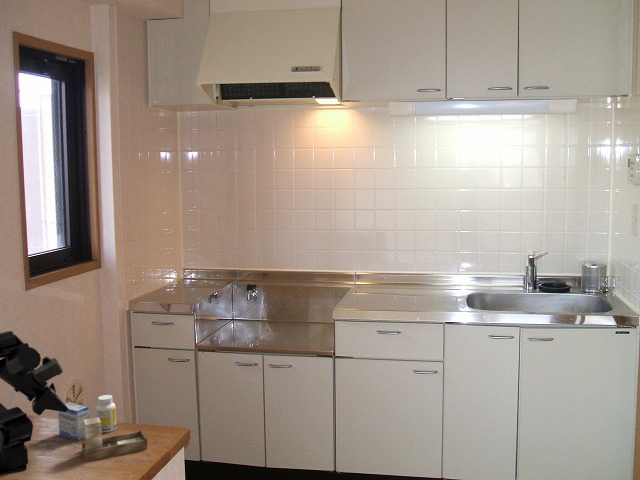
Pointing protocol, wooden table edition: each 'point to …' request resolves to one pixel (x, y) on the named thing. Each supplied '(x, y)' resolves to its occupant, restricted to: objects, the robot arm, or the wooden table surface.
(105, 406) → the supplement bottle
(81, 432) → the medicine box
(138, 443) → the box
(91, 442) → the cream block
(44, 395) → the robot arm
